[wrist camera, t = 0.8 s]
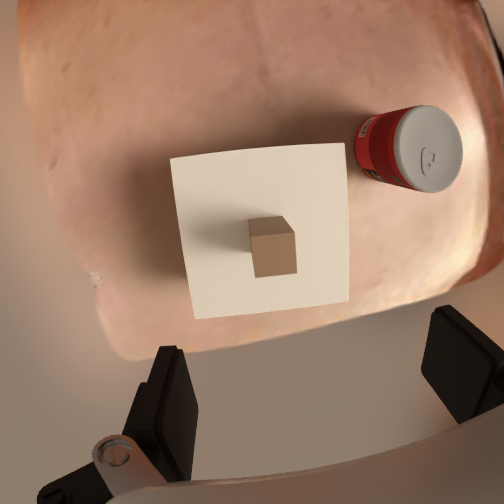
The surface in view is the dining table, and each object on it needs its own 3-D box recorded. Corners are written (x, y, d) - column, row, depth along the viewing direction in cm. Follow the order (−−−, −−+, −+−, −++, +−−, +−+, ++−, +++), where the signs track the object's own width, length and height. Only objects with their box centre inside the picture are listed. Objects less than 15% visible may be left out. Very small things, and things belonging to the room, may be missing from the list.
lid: (172, 158, 26) (151, 159, 20) (340, 143, 27) (371, 140, 20) (196, 314, 31) (187, 354, 24) (345, 296, 31) (370, 331, 24)
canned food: (355, 183, 35) (400, 196, 24) (347, 115, 32) (391, 102, 22) (410, 179, 35) (465, 191, 24) (404, 115, 32) (459, 107, 22)
